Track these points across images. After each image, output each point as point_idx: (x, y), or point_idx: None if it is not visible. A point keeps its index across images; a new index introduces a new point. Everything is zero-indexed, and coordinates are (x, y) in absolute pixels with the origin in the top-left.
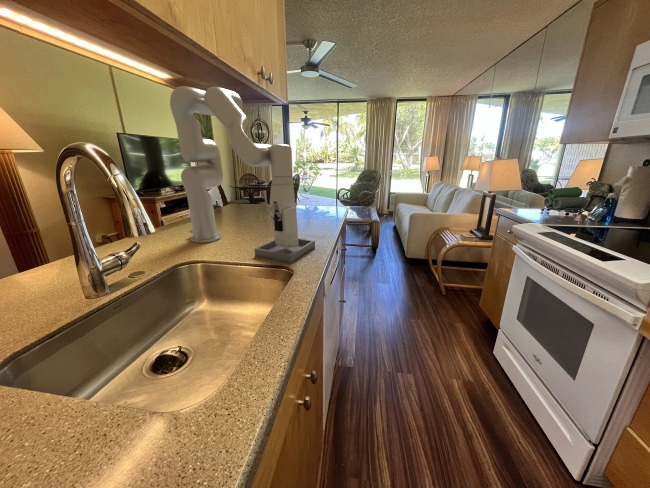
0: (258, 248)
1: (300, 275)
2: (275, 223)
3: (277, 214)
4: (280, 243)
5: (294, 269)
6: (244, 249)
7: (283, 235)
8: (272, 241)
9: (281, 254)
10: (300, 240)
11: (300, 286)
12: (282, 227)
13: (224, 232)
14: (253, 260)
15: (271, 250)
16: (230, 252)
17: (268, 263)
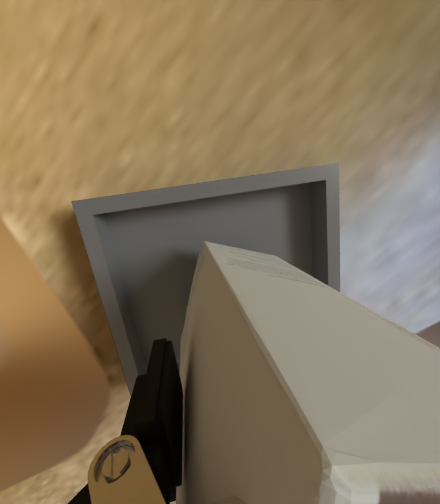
0: (91, 218)
1: (91, 454)
2: (126, 428)
3: (211, 499)
4: (188, 302)
5: (111, 414)
6: (114, 58)
7: (184, 369)
8: (227, 193)
9: (121, 361)
10: None
11: (37, 498)
12: (182, 417)
13: None
14: (52, 235)
15: (177, 230)
16: (20, 15)
17: (80, 312)
